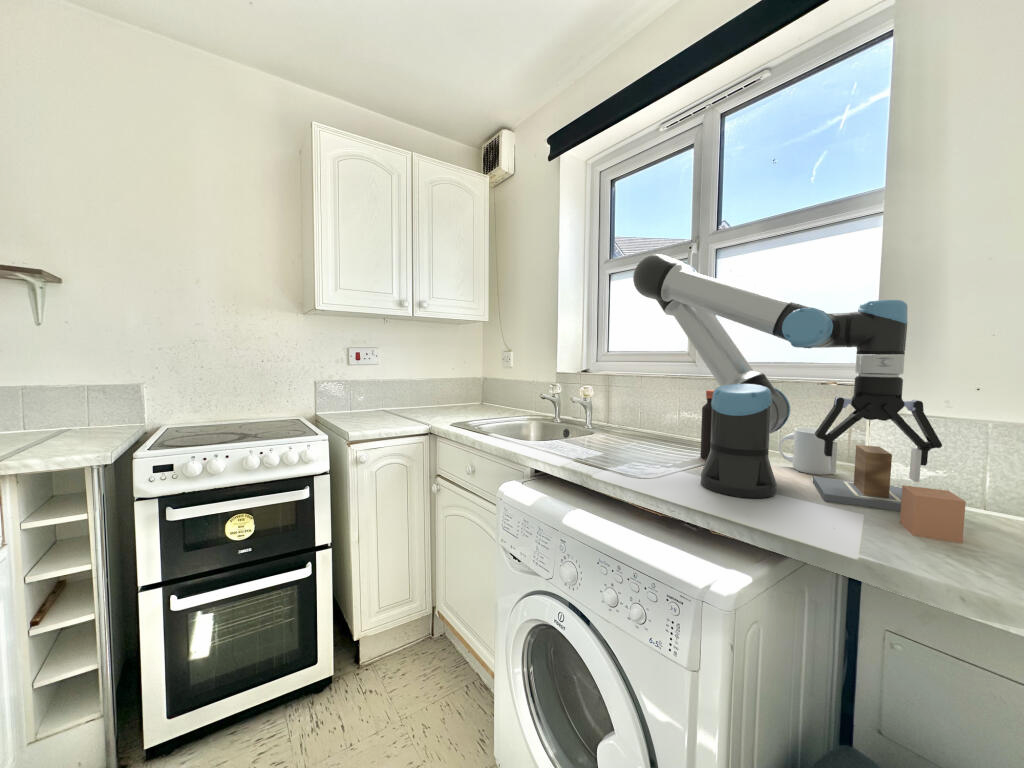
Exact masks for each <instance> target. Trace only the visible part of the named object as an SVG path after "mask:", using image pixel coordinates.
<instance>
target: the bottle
mask: <svg viewBox="0 0 1024 768" xmlns="http://www.w3.org/2000/svg"><path fill="white" fill-rule="evenodd" d="M714 390H715V389H707V390H706V391H705V399H706V403H705V404H704V405H703V406H702V407H701V427H700V428H701V429H700V430H701V433H700V434H701V435H700V458H702V459H704V460H707V458H708V456H709V453H710V445H711V413H712V406H711V401H712V398H713V392H714Z"/></svg>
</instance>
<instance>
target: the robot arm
mask: <svg viewBox="0 0 1024 768" xmlns="http://www.w3.org/2000/svg"><path fill="white" fill-rule="evenodd" d="M632 276H633V277H632V279H633V285H634V287H635V289H636V291H637V292H638V293H639V294H641V296H643V297H646V298H649V299H653V300H655V301H657V303H658V305H659V306H660V307H661V309H662V311H663V312H664V314H665V315H668V316H673V318H674V319H675V320H676V321H677V323H678V325H679V326H680V327H681V329H682V330H683V332H684V334H685V335H686V337H687V338H688V340H689V342H690V343H691V344H692V346H693V348H694V349H695V350H696V352H697V353H698V355H699V357H700V358H701V359H702V361H703V363H704V364H705V366H706V368H707V369H708V370H709V372H710V374H712V376H713V378H714V379H715V380H716V382H717V384H718V387H716V388H714V389H713V390H714V392H713V398H712V401H711V406H712V413H711V445H710V453H709V456H708V458H707V459H705V464H704V465H703V468H702V471H701V473H700V485H702V486H703V487H704V488H705V489H708V490H710V491H713V492H716V493H719V494H723V495H727V496H733V497H737V498H738V497H739V498H749V499H765V498H766V499H767V498H770V497H774V496H775V495H776V494H777V481H776V477H775V473H774V472H773V469H772V465H771V461H770V459H769V451H770V450H769V449H770V434H772V433H774V432H778V431H779V430H780V429H781V428H782V427H784V425H785V424H786V423H787V422H788V420H789V417H790V414H791V405H790V401H789V399H788V398H787V396H786V395H785V394H784V393H783V392H782V391H781V390H779V389H778V388H777V387H774V386H773V384H772V382H770V380H769V378H768V377H767V376H766V374H764V372H760V371H757V370H754V368H752V366H751V365H750V363H749V362H748V361H747V360H746V357H744V355H743V354H742V352H741V351H740V350H739V349H740V348H738V347H737V345H736V343H735V342H734V341H733V340H732V337H730V335H729V334H728V332H727V331H726V329H725V328H724V326H723V325H722V324H721V322H720V321H719V319H718V318H717V317H718V316H719V317H721V318H723V319H726V320H729V321H732V322H735V323H738V324H741V325H744V326H746V327H748V328H750V329H751V328H752V329H754V330H756V331H760V332H763V333H766V334H768V335H771V336H773V337H777V338H779V339H781V340H785V341H786V342H789V343H790V344H791V346H792V347H794V348H797V349H798V348H803V349H812V348H813V349H815V348H816V349H818V348H820V349H821V348H822V349H824V348H827V349H828V348H856V357H855V358H856V359H855V373H856V374H858V376H856V377H854V388H853V396H852V398H846V397H845V398H844V397H841V396H836V397H835V398H834V402H833V406H832V408H831V409H830V410H829V412H828V414H827V415H826V416H825V417H824V419H823V420H822V422H821V423H820V425H819V427H818V428H816V429H817V431H816V432H815V436H816V437H817V438H820V439H823V440H824V441H825V444H824V454H825V455H826V456H830V458H829V470H830V471H831V472H832V473H833V474H836V473H837V459H838V458H837V457H838V456H837V455H838V442H836V440H837V438H839V437H840V436H841V435H842V434H844V433H845V432H846V431H847V430H849V429H850V428H851V427H853V426H854V424H856V423H857V422H859V421H860V420H862V419H865V420H867V421H874V420H879V421H882V422H883V421H886V422H887V421H888V420H889V421H892V422H893V423H894V424H895V425H896V427H898V428H899V429H900V431H902V432H903V434H904V435H905V436H907V438H909V440H911V442H912V443H913V444H915V447H911V449H910V450H911V451H910V464H909V475H908V476H909V477H908V479H910V480H911V481H912V482H914V483H920V477H921V466H924V467H925V466H927V464H928V461H929V460H928V457H929V451H931V450H933V449H941V448H942V446H943V444H942V442H941V440H940V438H939V437H938V435H937V433H936V431H935V429H934V428H933V426H932V424H931V423H930V421H929V418H928V417H927V416H926V413H925V411H924V403H923V401H922V400H918V399H912V400H904V399H903V386H904V385H903V384H904V379H903V377H900V375H903V374H904V370H905V369H904V367H905V355H906V354H905V353H906V346H907V345H906V344H907V342H906V341H907V331H908V323H909V322H908V304H907V303H906V302H905V301H904V300H900V299H880V300H871V301H870V300H869V301H864V302H861V303H860V305H859V308H858V309H857V311H852V312H842V313H841V312H840V313H839V312H837V313H836V312H835V313H826V312H825V311H823V310H821V309H819V308H814V307H810V306H806V305H802V304H800V303H795V302H792V301H790V300H787V299H783V298H779V297H776V296H772V295H769V294H766V293H763V292H759V291H756V290H752V289H750V288H746V287H744V286H740V285H737V284H733V283H730V282H727V281H724V280H720V279H717V278H714V277H710V276H707V275H705V274H704V275H703V274H701V273H698V272H697V270H696V269H695V268H694V267H693V266H692V265H691V264H689V263H688V262H685V261H684V260H683V261H682V260H677V259H675V258H673V257H670V256H668V255H664V254H657V253H656V254H651V255H648V256H647V257H644V258H643V259H641V260H640V261H639V263H638V264H637V265H636V267H635V269H634V272H633V275H632ZM716 316H717V317H716ZM849 405H850V406H851V407H852V408H853V409H854V410H853V411H852V412H851V413H850V414H848V416H847V417H846V418H845V419H844V420H842V421H841V422H840V423H839V424H838V425H836V426H835V427H834V428H833V429H832V430H830V428H831V427H832V425H833V424H834V423H835V421H836V419H837V418H838V417H839V415H840V414H841V412H842V411H843V409H846V408H847V407H848V406H849ZM904 408H906V409H907V411H909V412H911V414H912V416H913V418H914V420H915V421H916V423H917V425H918V427H919V429H920V431H921V432H922V434H923V436H924V437H925V440H926V441H925V440H924V439H923V438H922V437H921V436H920V435H919V434H918V433H917V432H916V431H915V430H914V429H913V428H912V427H911V426H910V425H909V423H907V421H905V419H904V418H903V417H902V416H901V415H900V414H899V412H901V410H903V409H904ZM828 430H829V431H830V432H829V433H828V434H827V435H826V432H827V431H828ZM834 440H835V441H834ZM832 473H831V474H832Z"/></svg>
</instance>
